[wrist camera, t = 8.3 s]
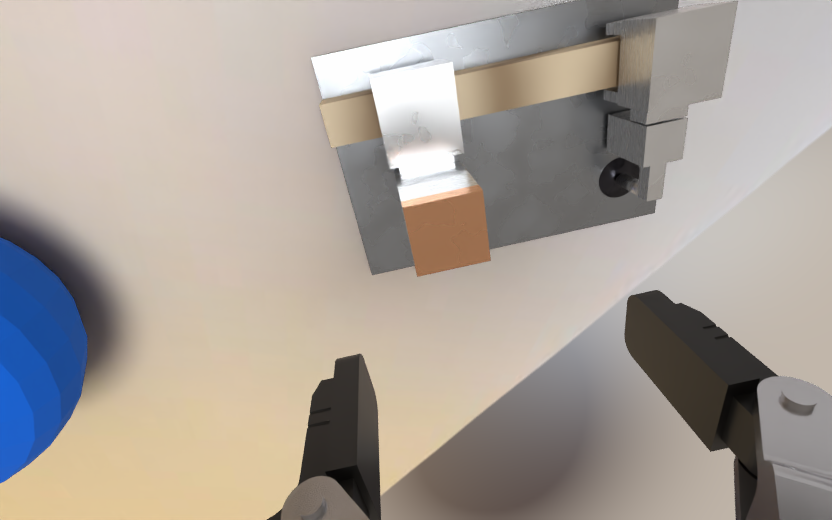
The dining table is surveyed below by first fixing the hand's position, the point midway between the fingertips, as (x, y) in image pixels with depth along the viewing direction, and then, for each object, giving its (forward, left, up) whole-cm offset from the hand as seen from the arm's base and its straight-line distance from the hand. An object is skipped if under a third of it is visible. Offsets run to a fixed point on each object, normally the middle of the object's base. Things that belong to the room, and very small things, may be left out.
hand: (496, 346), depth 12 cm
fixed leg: (-14, -1, -17) cm, 22 cm away
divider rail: (-6, -5, -18) cm, 19 cm away
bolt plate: (-6, -1, -19) cm, 20 cm away
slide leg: (0, -1, -17) cm, 17 cm away
